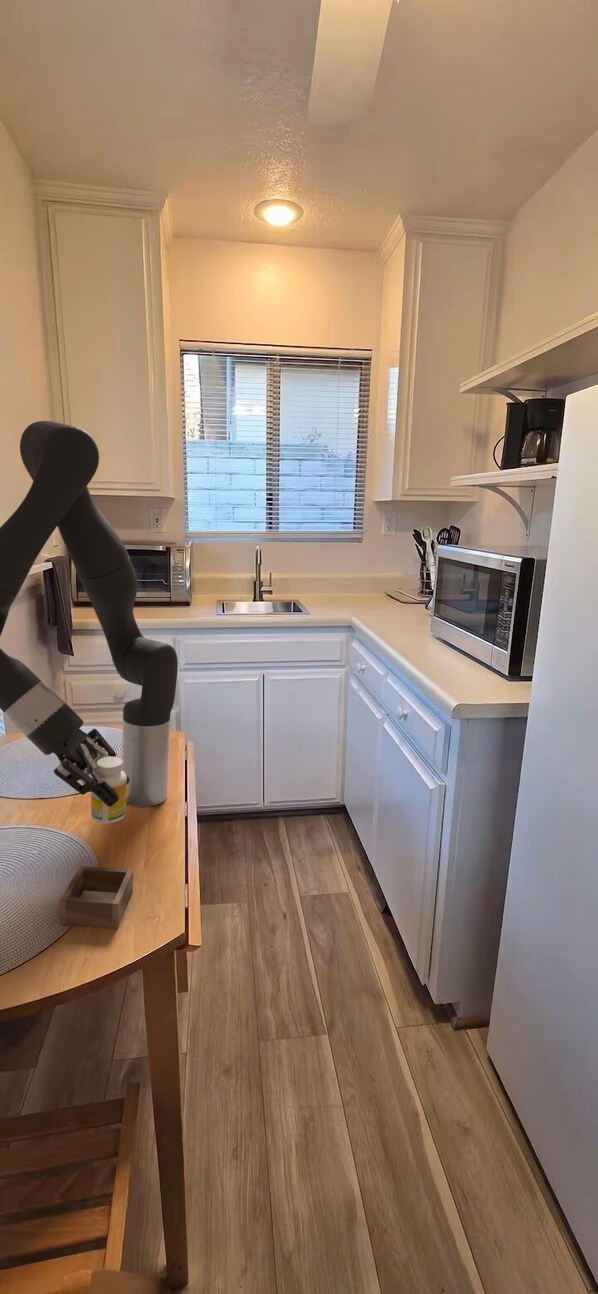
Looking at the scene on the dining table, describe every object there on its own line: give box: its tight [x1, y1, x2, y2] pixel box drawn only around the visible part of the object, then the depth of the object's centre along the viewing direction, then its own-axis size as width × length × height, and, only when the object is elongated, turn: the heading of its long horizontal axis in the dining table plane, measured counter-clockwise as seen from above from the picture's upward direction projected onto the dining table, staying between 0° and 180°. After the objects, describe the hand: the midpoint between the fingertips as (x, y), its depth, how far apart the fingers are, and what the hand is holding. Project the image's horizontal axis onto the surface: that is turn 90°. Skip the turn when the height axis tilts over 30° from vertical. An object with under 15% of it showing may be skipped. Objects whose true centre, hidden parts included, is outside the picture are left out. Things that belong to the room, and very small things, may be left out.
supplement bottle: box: [90, 756, 127, 825], centre depth 95 cm, size 5×5×10 cm
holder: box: [59, 865, 134, 929], centre depth 88 cm, size 8×8×4 cm
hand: (120, 792), depth 95 cm, fingers closed on supplement bottle, 5 cm apart
